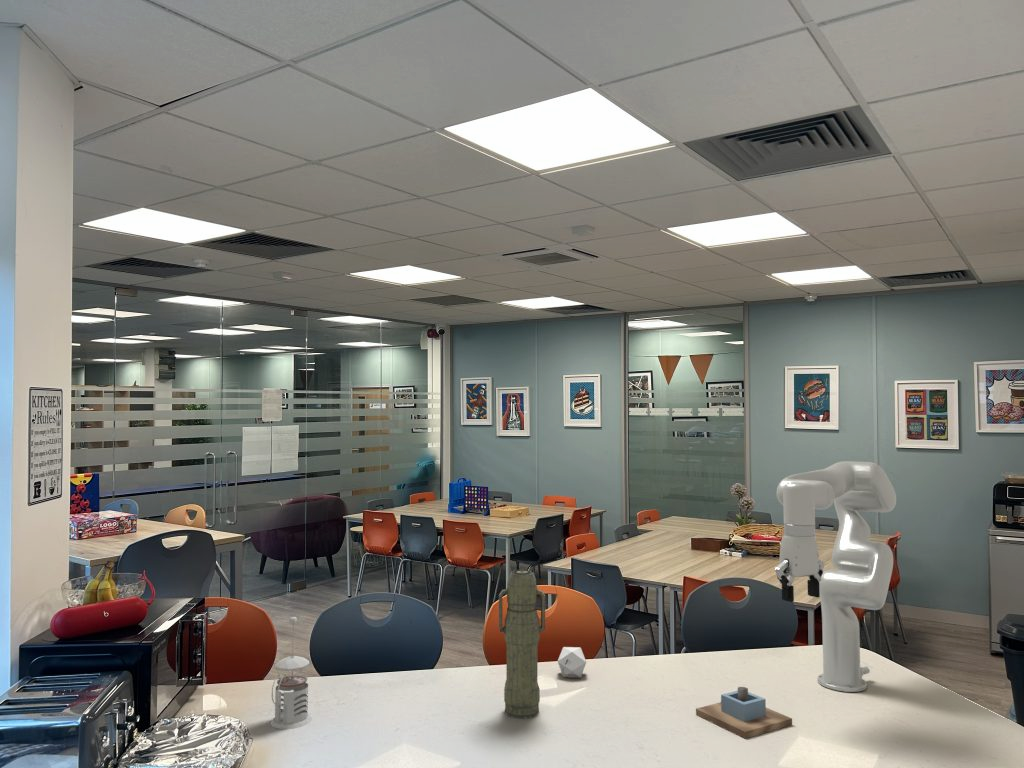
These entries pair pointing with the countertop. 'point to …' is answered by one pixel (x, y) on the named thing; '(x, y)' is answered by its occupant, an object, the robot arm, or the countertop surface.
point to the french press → (291, 693)
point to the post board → (742, 728)
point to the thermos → (522, 643)
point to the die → (572, 662)
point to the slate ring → (743, 706)
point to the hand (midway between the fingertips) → (800, 598)
